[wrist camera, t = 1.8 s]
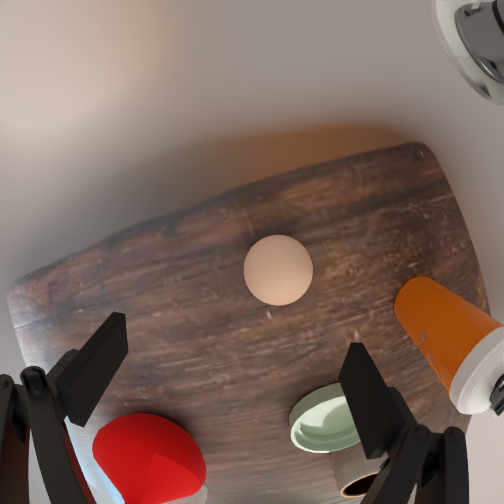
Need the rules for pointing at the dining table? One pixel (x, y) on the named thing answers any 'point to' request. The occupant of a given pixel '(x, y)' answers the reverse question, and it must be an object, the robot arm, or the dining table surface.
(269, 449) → the dining table surface
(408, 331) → the shaker bottle
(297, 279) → the egg
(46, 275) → the dining table surface
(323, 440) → the dish
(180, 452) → the vase
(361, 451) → the planter
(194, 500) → the jar
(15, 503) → the robot arm
